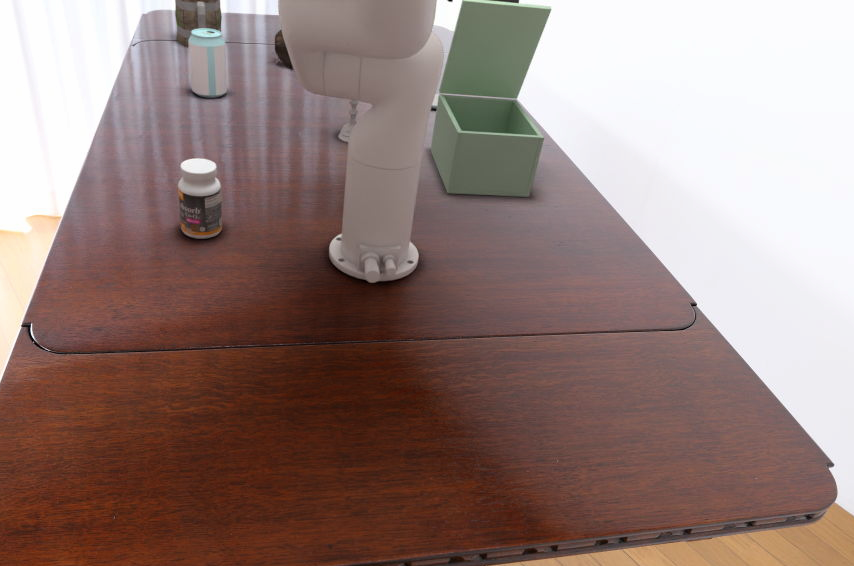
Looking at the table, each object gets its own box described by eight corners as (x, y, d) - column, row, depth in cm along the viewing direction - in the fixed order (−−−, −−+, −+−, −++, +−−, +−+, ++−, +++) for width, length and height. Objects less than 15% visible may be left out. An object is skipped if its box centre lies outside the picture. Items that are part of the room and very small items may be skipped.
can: (189, 87, 141) (185, 26, 134) (224, 86, 144) (221, 27, 137) (194, 99, 136) (190, 37, 129) (229, 98, 139) (227, 37, 132)
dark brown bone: (303, 81, 158) (322, 61, 183) (327, 42, 154) (343, 27, 178) (263, 52, 156) (287, 36, 180) (287, 11, 151) (308, 1, 175)
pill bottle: (172, 231, 95) (166, 166, 90) (200, 216, 100) (195, 152, 94) (204, 244, 94) (200, 178, 88) (231, 228, 98) (229, 164, 92)
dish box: (529, 197, 117) (544, 137, 111) (447, 193, 115) (457, 132, 109) (504, 154, 131) (516, 99, 125) (430, 150, 129) (438, 94, 123)
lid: (551, 9, 109) (545, -12, 112) (463, 0, 106) (459, -21, 109) (517, 98, 124) (512, 78, 127) (439, 93, 122) (436, 72, 125)
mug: (175, 34, 170) (171, -18, 162) (220, 36, 173) (218, -15, 166) (179, 54, 158) (175, -2, 151) (227, 55, 161) (225, 1, 154)
